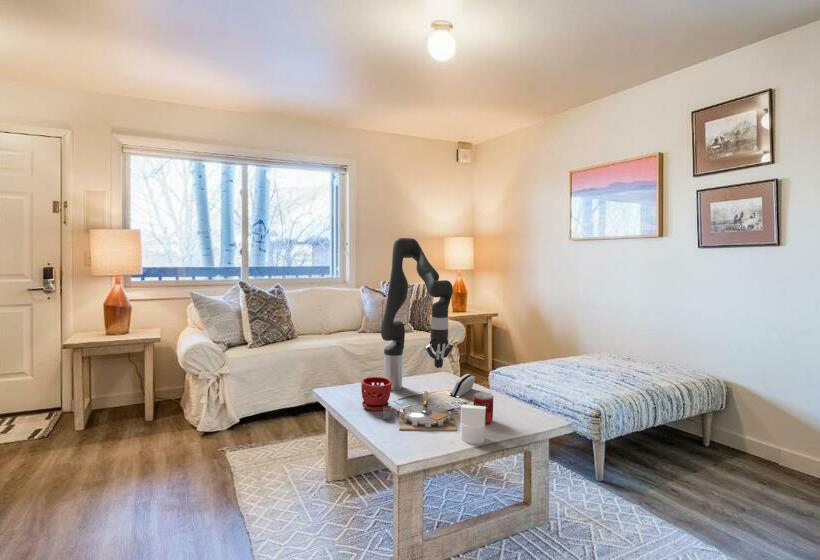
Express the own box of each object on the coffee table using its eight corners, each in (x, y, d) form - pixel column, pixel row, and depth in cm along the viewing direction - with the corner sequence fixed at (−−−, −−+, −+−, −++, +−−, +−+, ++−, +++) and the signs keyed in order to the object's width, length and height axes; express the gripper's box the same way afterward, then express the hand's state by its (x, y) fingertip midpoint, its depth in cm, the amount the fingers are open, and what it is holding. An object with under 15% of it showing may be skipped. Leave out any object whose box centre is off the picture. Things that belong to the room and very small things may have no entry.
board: (399, 410, 202) (399, 408, 202) (450, 410, 203) (450, 408, 203) (399, 430, 180) (399, 428, 180) (456, 430, 181) (456, 428, 181)
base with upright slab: (459, 442, 170) (460, 410, 170) (461, 432, 179) (461, 401, 178) (484, 444, 169) (485, 412, 168) (484, 434, 178) (485, 403, 177)
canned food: (469, 420, 192) (469, 394, 191) (482, 416, 197) (483, 390, 196) (483, 426, 186) (484, 399, 185) (496, 421, 191) (497, 395, 190)
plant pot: (359, 412, 199) (359, 384, 198) (363, 402, 212) (363, 375, 211) (390, 413, 198) (390, 385, 197) (392, 402, 211) (392, 376, 210)
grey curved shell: (462, 386, 237) (469, 369, 235) (470, 391, 235) (477, 374, 232) (448, 395, 223) (455, 377, 220) (456, 400, 220) (464, 382, 218)
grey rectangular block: (383, 415, 196) (383, 405, 196) (391, 415, 196) (391, 405, 196) (382, 420, 190) (383, 410, 190) (390, 420, 190) (391, 410, 190)
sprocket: (401, 408, 201) (401, 390, 201) (448, 408, 202) (448, 390, 201) (401, 427, 181) (401, 406, 180) (454, 427, 182) (454, 407, 181)
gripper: (448, 325, 206) (447, 363, 207) (421, 326, 200) (420, 366, 201) (457, 327, 199) (456, 368, 200) (429, 329, 193) (428, 371, 194)
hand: (438, 367), depth 201 cm, fingers closed
